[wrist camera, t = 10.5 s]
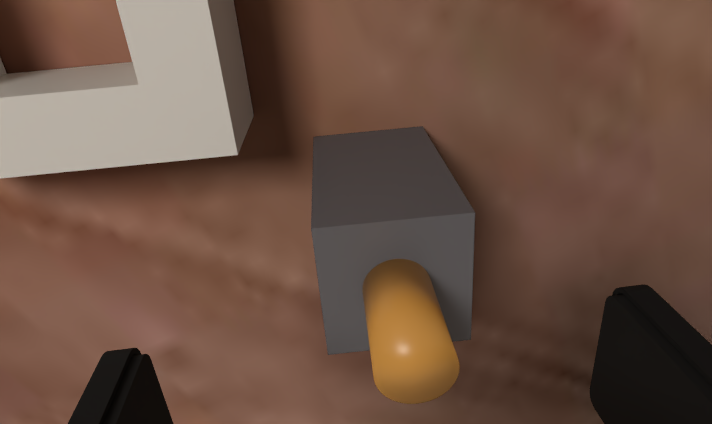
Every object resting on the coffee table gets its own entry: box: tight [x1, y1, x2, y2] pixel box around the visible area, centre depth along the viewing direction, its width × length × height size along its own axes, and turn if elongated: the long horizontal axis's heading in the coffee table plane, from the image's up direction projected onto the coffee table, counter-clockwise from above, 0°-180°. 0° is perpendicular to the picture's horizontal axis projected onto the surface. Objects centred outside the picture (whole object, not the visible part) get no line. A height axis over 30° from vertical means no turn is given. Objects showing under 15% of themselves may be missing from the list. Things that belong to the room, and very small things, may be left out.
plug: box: [311, 126, 475, 404], centre depth 15 cm, size 4×4×10 cm
